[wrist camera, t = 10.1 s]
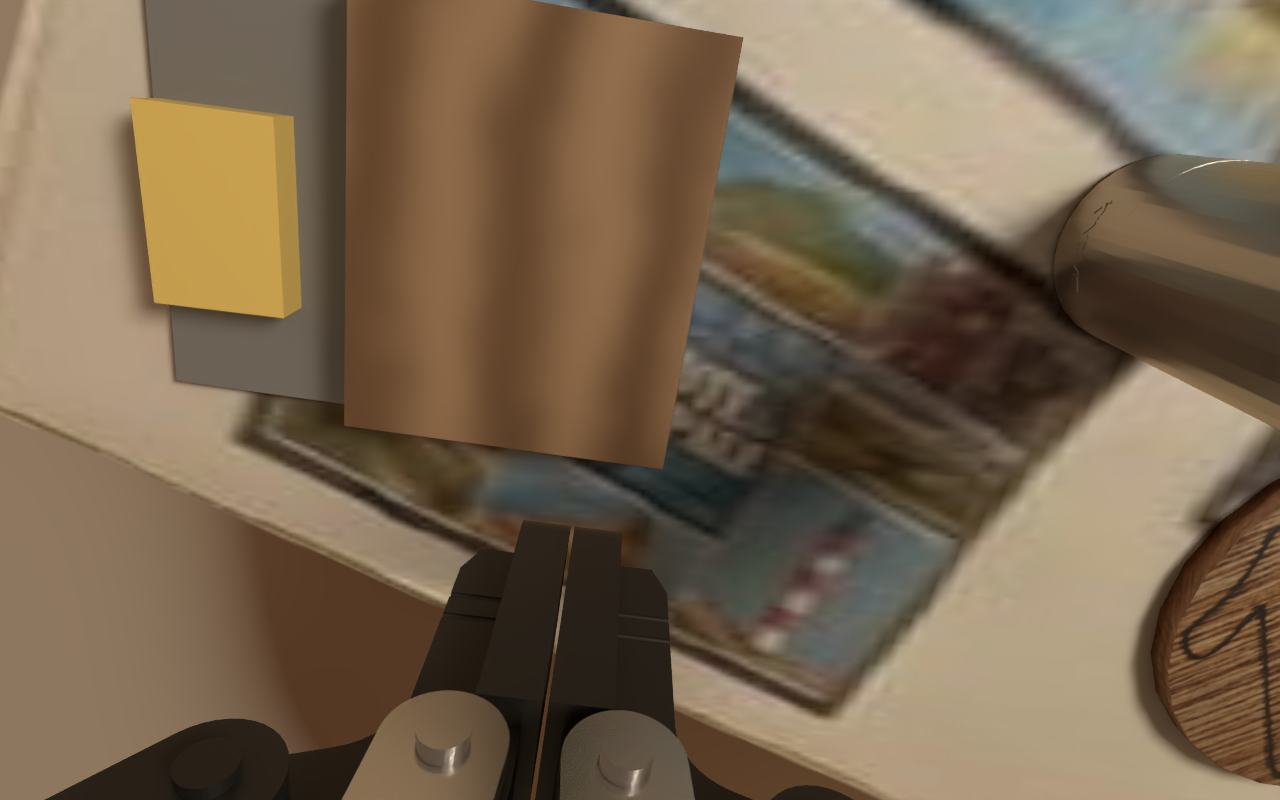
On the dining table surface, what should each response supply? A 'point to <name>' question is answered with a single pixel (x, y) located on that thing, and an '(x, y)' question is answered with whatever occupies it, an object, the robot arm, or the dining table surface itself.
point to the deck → (526, 221)
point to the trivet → (1227, 642)
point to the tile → (219, 206)
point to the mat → (316, 98)
